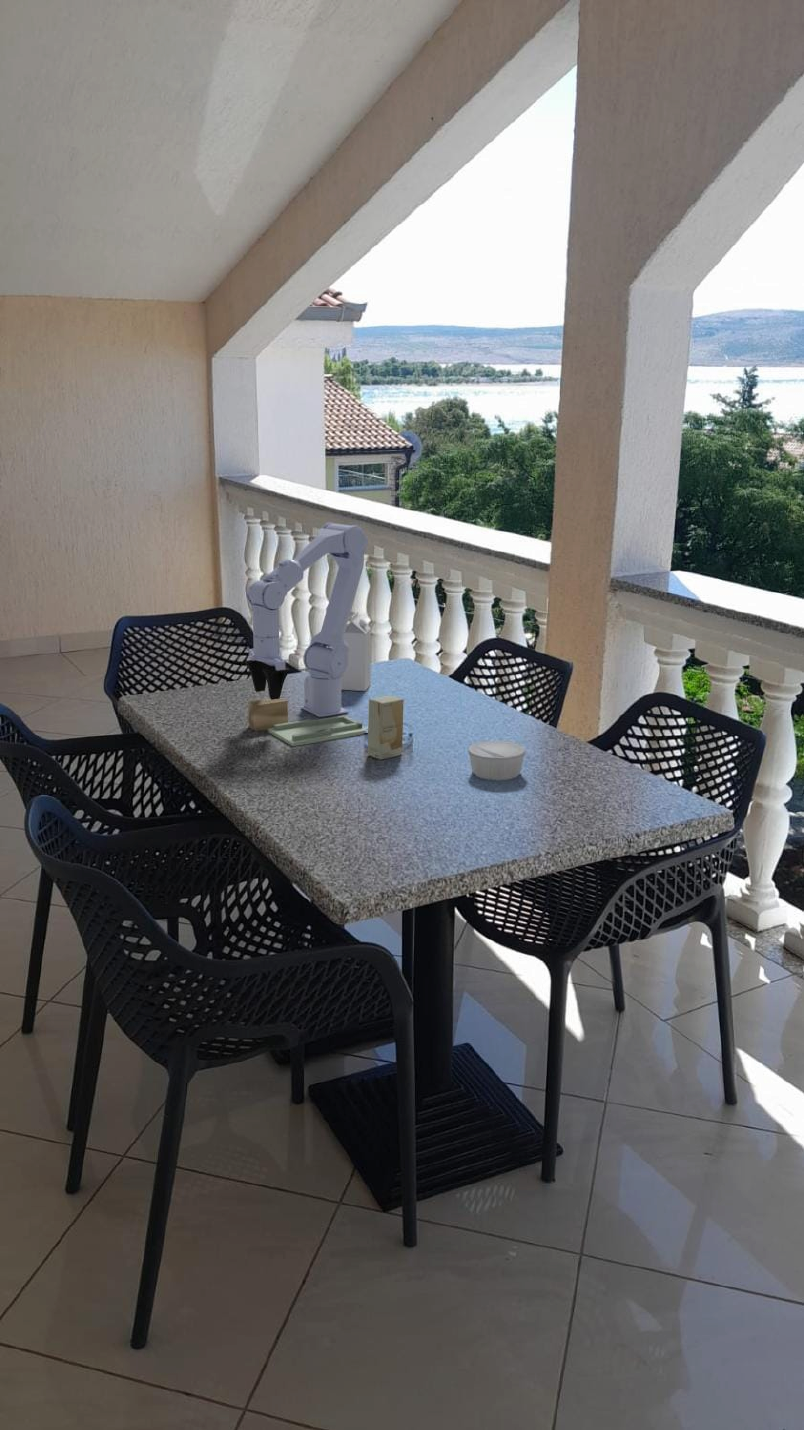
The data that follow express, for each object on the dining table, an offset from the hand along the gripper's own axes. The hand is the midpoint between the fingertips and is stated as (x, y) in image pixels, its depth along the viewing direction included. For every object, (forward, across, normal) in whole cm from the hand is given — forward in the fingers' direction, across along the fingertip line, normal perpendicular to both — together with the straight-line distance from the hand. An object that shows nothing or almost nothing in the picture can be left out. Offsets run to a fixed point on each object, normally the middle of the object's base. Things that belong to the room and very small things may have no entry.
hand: (267, 695), depth 249 cm
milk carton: (+7, -20, +34) cm, 40 cm away
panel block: (+8, 0, 0) cm, 8 cm away
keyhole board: (+7, +10, +8) cm, 15 cm away
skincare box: (+8, +31, +12) cm, 34 cm away
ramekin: (+8, +52, +25) cm, 58 cm away
